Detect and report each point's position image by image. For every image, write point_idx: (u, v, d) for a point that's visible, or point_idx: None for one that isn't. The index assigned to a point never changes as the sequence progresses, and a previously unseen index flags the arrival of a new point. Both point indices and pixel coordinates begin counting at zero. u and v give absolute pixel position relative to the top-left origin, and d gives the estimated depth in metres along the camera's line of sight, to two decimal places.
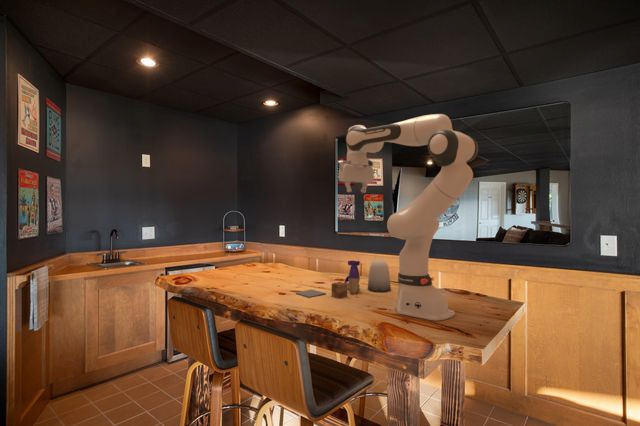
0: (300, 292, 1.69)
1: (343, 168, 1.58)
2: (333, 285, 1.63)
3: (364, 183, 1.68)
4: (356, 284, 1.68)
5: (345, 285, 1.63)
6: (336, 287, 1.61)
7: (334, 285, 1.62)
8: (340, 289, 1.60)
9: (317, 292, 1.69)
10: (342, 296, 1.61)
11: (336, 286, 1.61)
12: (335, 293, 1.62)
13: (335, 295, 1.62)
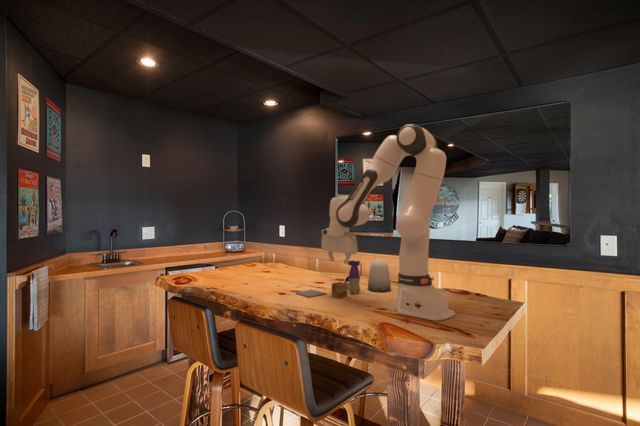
0: (300, 292, 1.69)
1: (355, 241, 1.57)
2: (333, 285, 1.63)
3: (331, 251, 1.67)
4: (356, 284, 1.68)
5: (345, 285, 1.63)
6: (336, 287, 1.61)
7: (334, 285, 1.62)
8: (340, 289, 1.60)
9: (317, 292, 1.69)
10: (342, 296, 1.61)
11: (336, 286, 1.61)
12: (335, 293, 1.62)
13: (335, 295, 1.62)
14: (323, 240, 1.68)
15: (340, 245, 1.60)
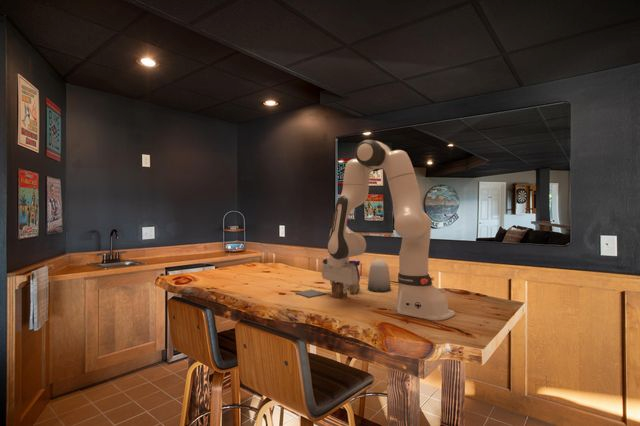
0: (300, 292, 1.69)
1: (356, 272, 1.57)
2: (333, 285, 1.63)
3: (334, 281, 1.66)
4: (356, 284, 1.68)
5: None
6: (336, 287, 1.61)
7: (334, 285, 1.62)
8: (340, 288, 1.60)
9: (317, 292, 1.69)
10: (342, 296, 1.61)
11: (336, 286, 1.61)
12: (335, 293, 1.62)
13: (335, 295, 1.62)
14: (323, 269, 1.68)
15: (340, 275, 1.60)
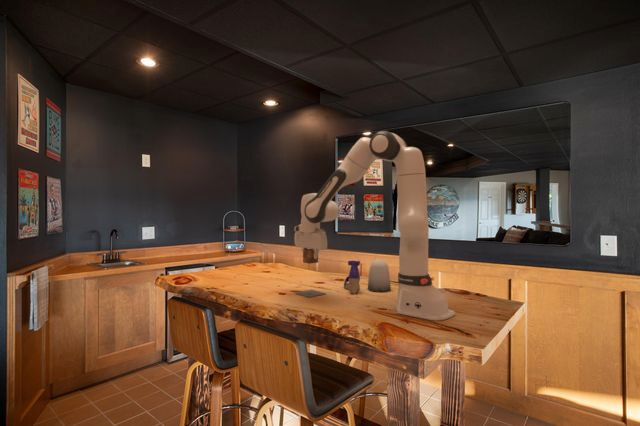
0: (300, 292, 1.69)
1: (325, 237, 1.61)
2: (304, 251, 1.67)
3: (306, 248, 1.71)
4: (356, 284, 1.68)
5: None
6: (307, 253, 1.66)
7: (305, 251, 1.67)
8: (310, 254, 1.65)
9: (317, 292, 1.69)
10: (313, 261, 1.66)
11: (307, 252, 1.66)
12: (306, 258, 1.66)
13: (306, 260, 1.66)
14: (296, 237, 1.73)
15: (311, 241, 1.64)
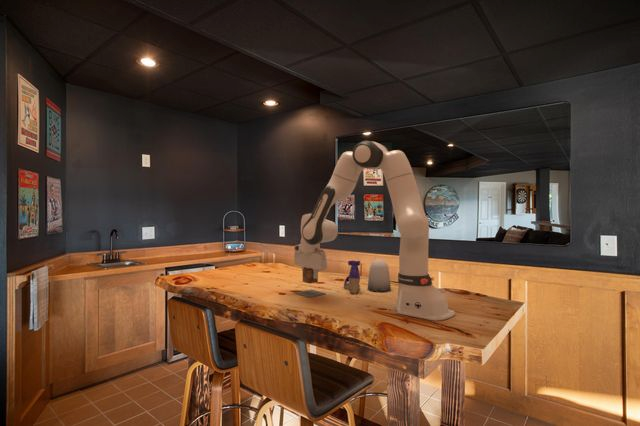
0: (300, 292, 1.69)
1: (325, 257, 1.61)
2: (304, 270, 1.67)
3: (305, 267, 1.71)
4: (356, 284, 1.68)
5: None
6: (307, 272, 1.66)
7: (305, 270, 1.67)
8: (310, 274, 1.65)
9: (317, 292, 1.69)
10: (312, 281, 1.66)
11: (306, 271, 1.66)
12: (305, 278, 1.67)
13: (306, 280, 1.66)
14: (295, 256, 1.73)
15: (311, 261, 1.65)
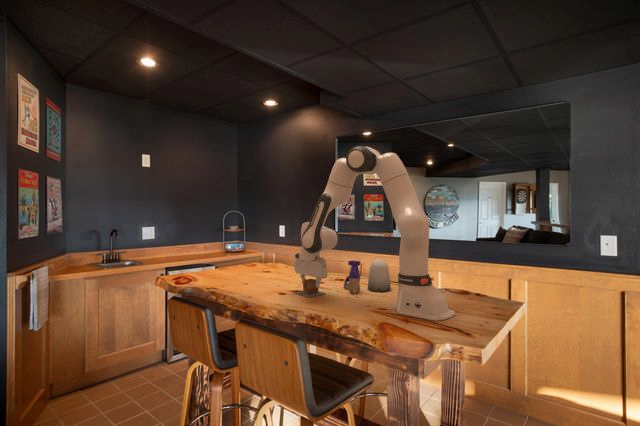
0: (300, 292, 1.69)
1: (325, 265, 1.61)
2: (304, 281, 1.67)
3: (304, 274, 1.72)
4: (357, 284, 1.68)
5: None
6: (307, 284, 1.66)
7: (305, 281, 1.67)
8: (310, 285, 1.65)
9: None
10: (313, 292, 1.66)
11: (307, 282, 1.66)
12: (306, 289, 1.67)
13: (306, 291, 1.66)
14: (296, 263, 1.73)
15: (311, 269, 1.65)
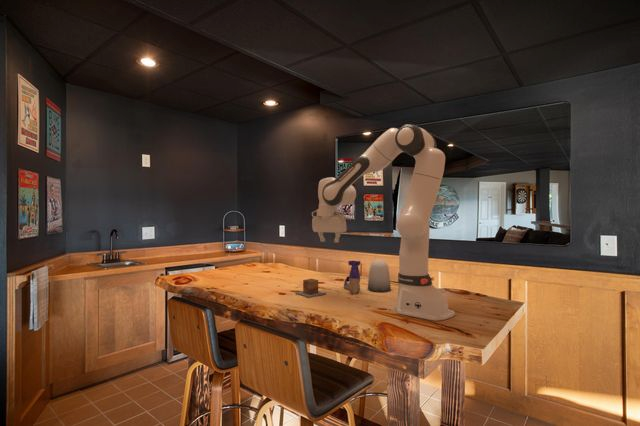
0: (300, 292, 1.69)
1: (344, 220, 1.63)
2: (304, 281, 1.67)
3: (322, 232, 1.73)
4: (357, 284, 1.68)
5: (316, 281, 1.67)
6: (307, 284, 1.66)
7: (305, 281, 1.67)
8: (310, 285, 1.65)
9: None
10: (313, 292, 1.66)
11: (307, 282, 1.66)
12: (306, 289, 1.67)
13: (306, 291, 1.66)
14: (313, 222, 1.74)
15: (330, 225, 1.66)
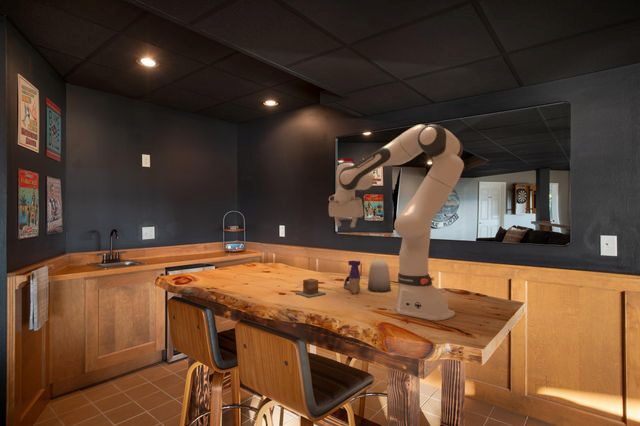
0: (300, 292, 1.69)
1: (361, 205, 1.64)
2: (304, 281, 1.67)
3: (338, 217, 1.75)
4: (357, 284, 1.68)
5: (316, 281, 1.67)
6: (307, 284, 1.66)
7: (305, 281, 1.67)
8: (310, 285, 1.65)
9: None
10: (313, 292, 1.66)
11: (307, 282, 1.66)
12: (306, 289, 1.67)
13: (306, 291, 1.66)
14: (330, 207, 1.76)
15: (347, 209, 1.68)
